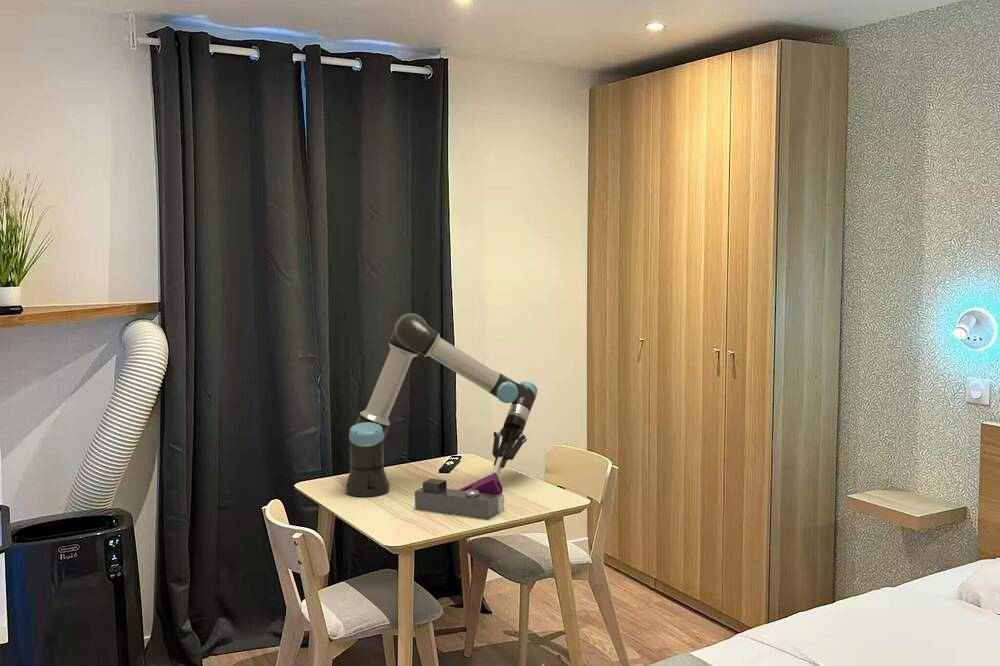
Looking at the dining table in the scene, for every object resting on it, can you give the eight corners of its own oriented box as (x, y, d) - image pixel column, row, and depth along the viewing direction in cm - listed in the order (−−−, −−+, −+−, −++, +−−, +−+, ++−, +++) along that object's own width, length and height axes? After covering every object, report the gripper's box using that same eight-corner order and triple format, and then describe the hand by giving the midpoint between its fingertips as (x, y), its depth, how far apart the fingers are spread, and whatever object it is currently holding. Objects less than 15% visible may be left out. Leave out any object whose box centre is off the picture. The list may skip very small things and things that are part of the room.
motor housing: (415, 509, 287) (414, 482, 286) (432, 500, 296) (432, 474, 295) (488, 519, 274) (488, 491, 274) (504, 510, 284) (503, 482, 283)
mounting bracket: (455, 525, 288) (504, 502, 286) (444, 502, 288) (493, 479, 286) (459, 516, 298) (506, 494, 296) (448, 494, 297) (495, 472, 295)
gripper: (535, 427, 320) (515, 482, 307) (503, 423, 326) (482, 478, 313) (529, 415, 315) (508, 471, 302) (497, 412, 321) (475, 466, 308)
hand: (495, 474), depth 308 cm, fingers closed
